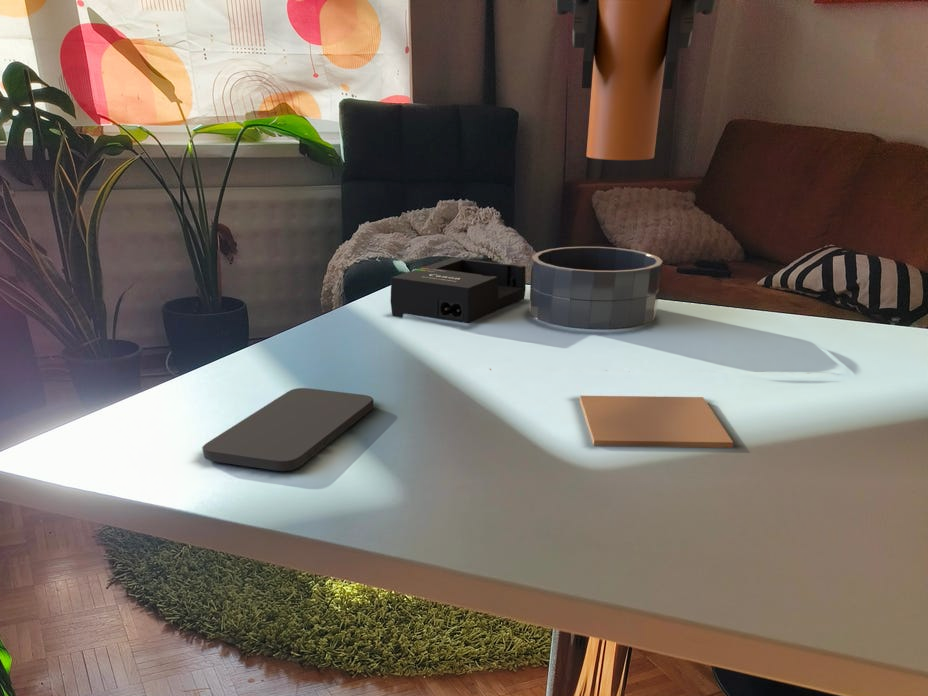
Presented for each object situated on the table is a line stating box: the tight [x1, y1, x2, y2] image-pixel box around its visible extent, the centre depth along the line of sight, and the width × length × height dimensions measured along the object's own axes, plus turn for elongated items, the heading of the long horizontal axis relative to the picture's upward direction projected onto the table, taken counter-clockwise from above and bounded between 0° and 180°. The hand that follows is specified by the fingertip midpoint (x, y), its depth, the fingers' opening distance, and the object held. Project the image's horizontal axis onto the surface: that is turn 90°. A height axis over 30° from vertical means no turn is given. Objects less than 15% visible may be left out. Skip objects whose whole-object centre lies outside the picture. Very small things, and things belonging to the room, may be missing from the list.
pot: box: [528, 246, 664, 330], centre depth 93 cm, size 13×13×6 cm
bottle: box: [586, 0, 672, 161], centre depth 75 cm, size 6×6×17 cm
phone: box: [202, 387, 375, 472], centre depth 66 cm, size 7×1×15 cm
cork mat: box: [579, 395, 734, 449], centre depth 68 cm, size 10×10×1 cm
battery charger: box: [390, 257, 527, 324], centre depth 97 cm, size 13×10×4 cm
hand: (627, 74), depth 73 cm, fingers closed on bottle, 6 cm apart
